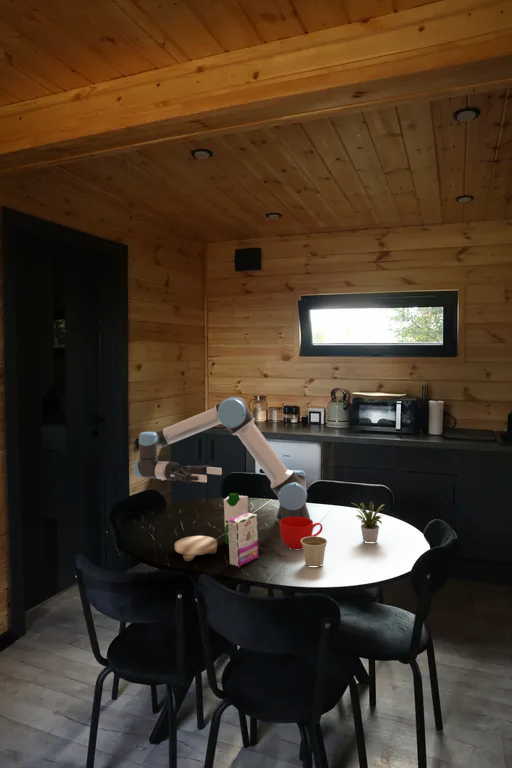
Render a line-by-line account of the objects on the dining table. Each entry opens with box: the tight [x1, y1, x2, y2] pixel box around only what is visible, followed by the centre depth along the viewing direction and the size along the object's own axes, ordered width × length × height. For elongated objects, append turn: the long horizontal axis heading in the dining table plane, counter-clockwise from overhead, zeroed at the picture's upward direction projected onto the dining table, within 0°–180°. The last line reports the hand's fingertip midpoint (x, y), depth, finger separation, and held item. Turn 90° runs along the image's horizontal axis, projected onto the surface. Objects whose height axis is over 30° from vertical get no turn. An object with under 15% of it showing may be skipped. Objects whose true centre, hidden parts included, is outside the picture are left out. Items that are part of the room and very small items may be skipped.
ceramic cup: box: [279, 517, 323, 550], centre depth 203 cm, size 13×17×10 cm
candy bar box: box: [228, 512, 260, 568], centre depth 190 cm, size 11×5×16 cm, turn 139°
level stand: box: [174, 535, 218, 562], centre depth 199 cm, size 16×16×4 cm
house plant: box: [351, 501, 386, 543], centre depth 207 cm, size 14×14×16 cm
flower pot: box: [301, 535, 328, 567], centre depth 186 cm, size 9×9×9 cm
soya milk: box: [223, 492, 249, 545], centre depth 210 cm, size 9×9×20 cm
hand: (214, 475), depth 212 cm, fingers open, 13 cm apart
